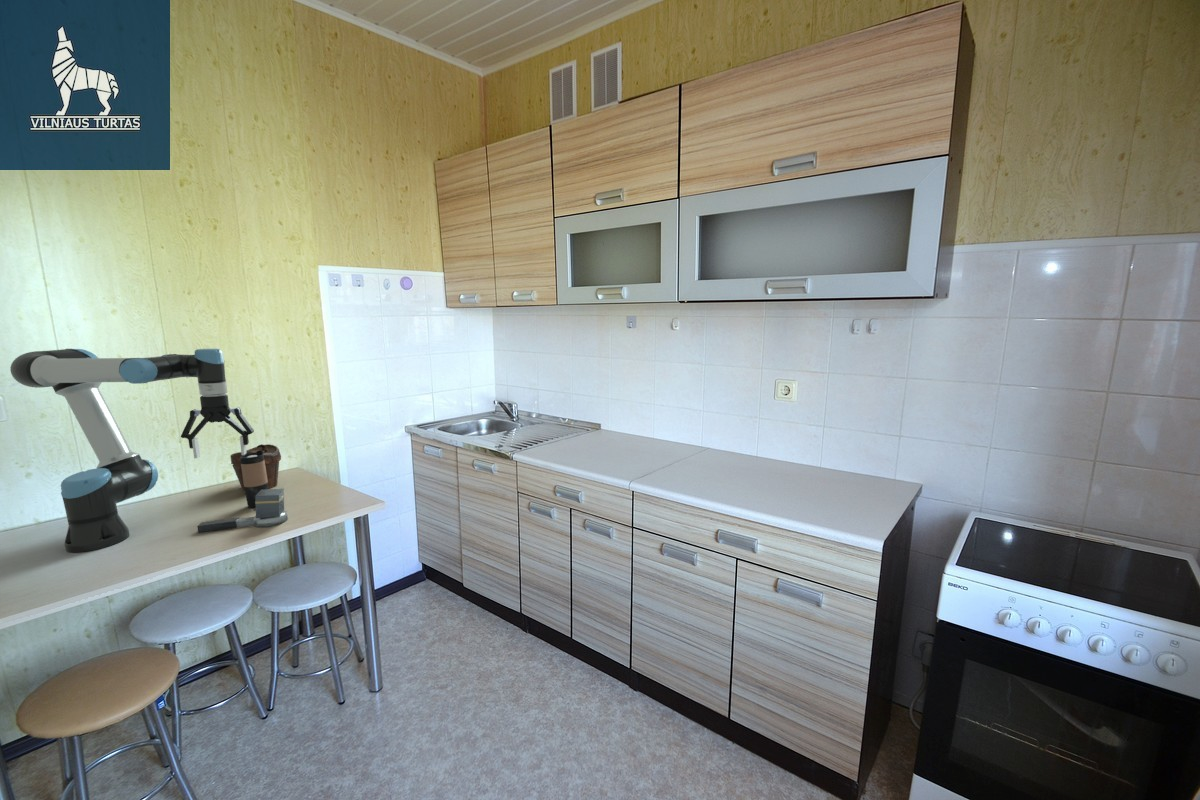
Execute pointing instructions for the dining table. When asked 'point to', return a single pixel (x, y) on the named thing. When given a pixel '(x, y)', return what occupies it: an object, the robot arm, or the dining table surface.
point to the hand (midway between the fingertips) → (220, 455)
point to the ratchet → (241, 523)
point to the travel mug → (253, 476)
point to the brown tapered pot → (271, 463)
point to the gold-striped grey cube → (269, 503)
